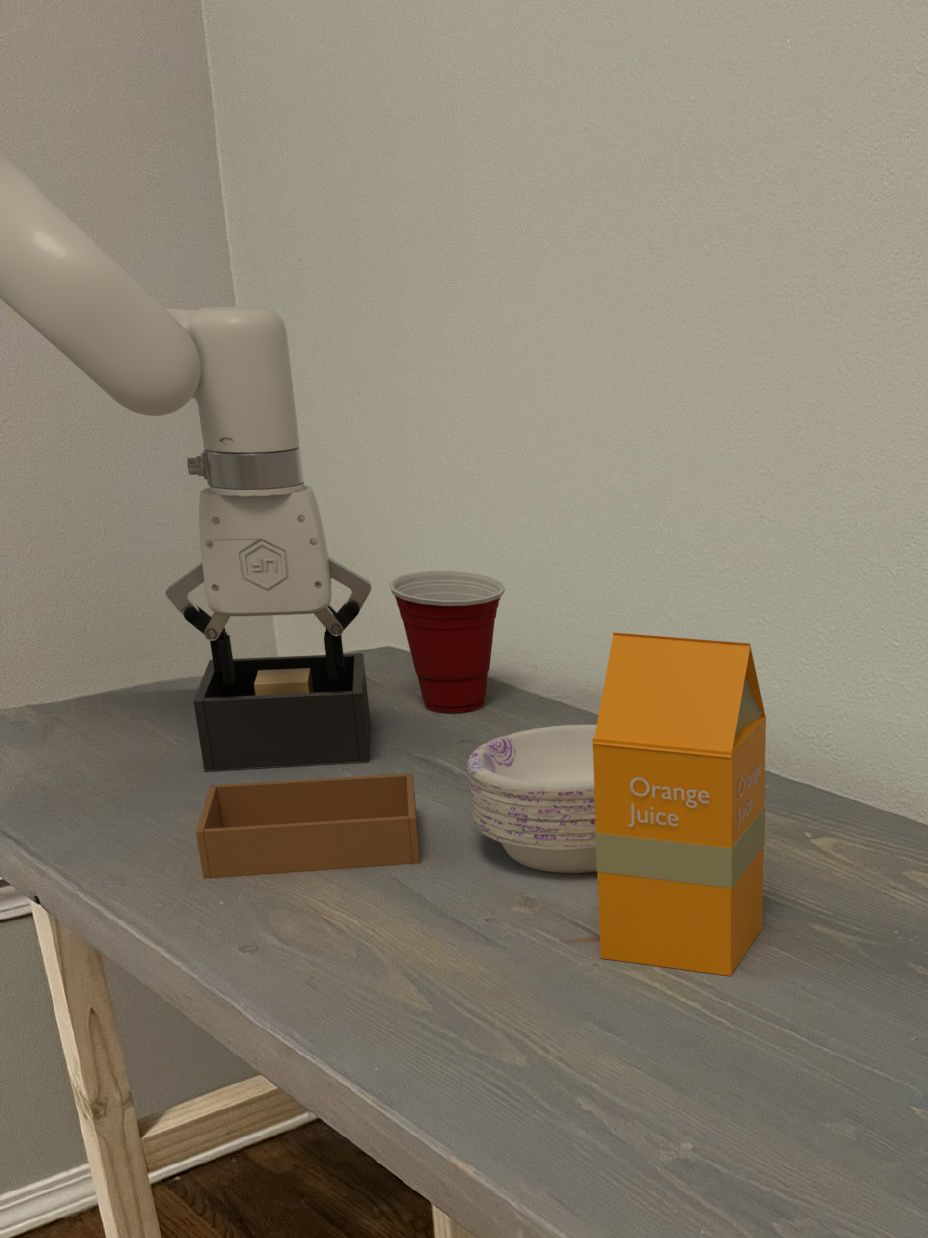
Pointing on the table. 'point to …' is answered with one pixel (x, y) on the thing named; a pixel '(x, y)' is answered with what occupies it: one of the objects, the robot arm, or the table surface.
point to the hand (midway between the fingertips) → (281, 679)
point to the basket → (284, 717)
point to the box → (308, 825)
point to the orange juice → (679, 803)
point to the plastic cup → (449, 634)
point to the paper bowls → (538, 796)
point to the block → (283, 682)
